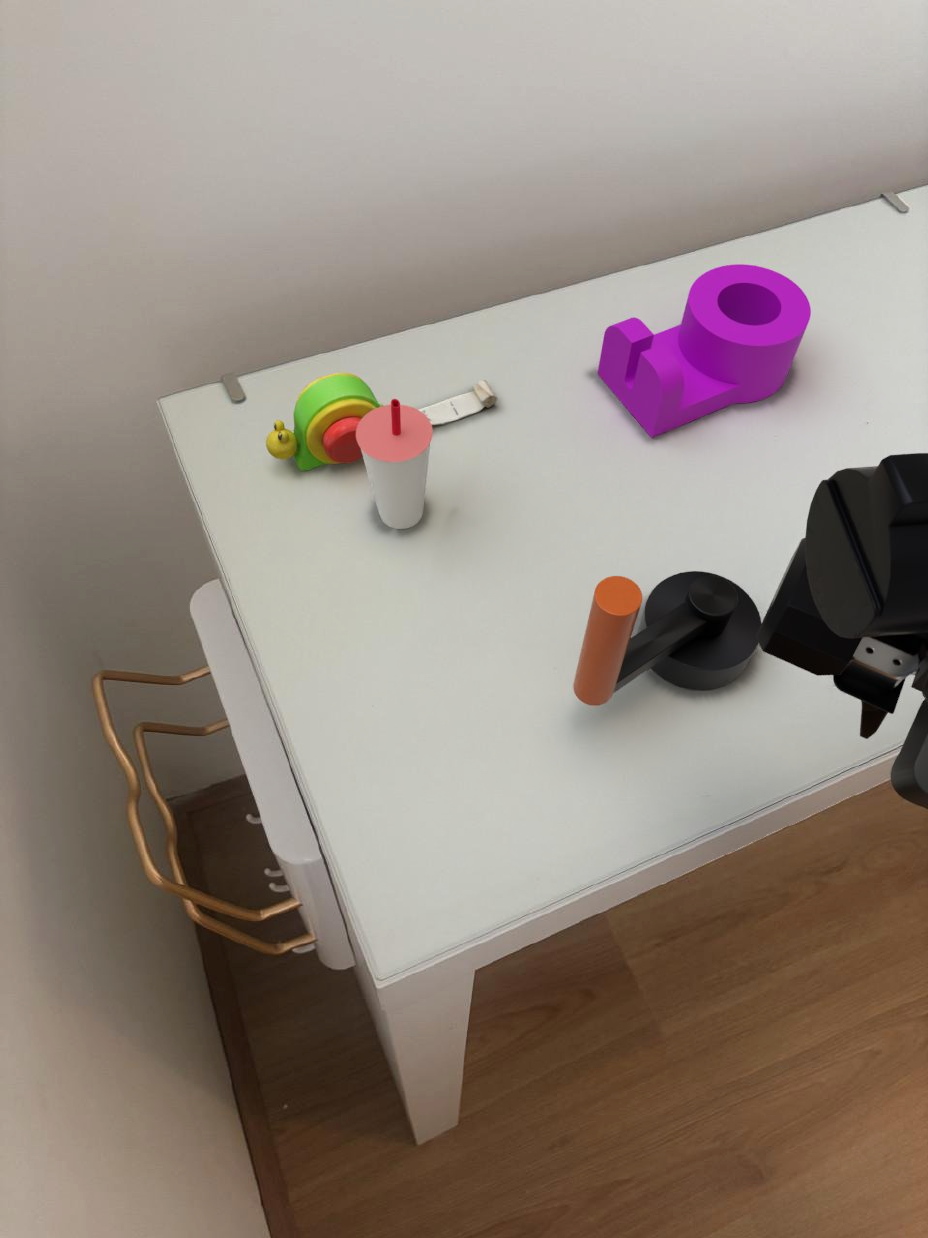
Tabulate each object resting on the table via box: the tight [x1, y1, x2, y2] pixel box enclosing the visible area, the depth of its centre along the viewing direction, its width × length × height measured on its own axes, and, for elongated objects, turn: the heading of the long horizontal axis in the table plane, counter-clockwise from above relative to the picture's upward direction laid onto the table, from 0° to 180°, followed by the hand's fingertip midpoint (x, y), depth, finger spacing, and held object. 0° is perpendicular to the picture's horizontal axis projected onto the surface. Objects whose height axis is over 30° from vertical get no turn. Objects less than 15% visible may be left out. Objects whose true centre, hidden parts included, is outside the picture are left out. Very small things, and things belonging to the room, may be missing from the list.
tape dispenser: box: [597, 263, 812, 439], centre depth 77 cm, size 16×10×6 cm, turn 118°
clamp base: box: [637, 570, 762, 691], centre depth 64 cm, size 8×8×3 cm
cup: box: [356, 398, 434, 530], centre depth 66 cm, size 5×5×12 cm
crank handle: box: [572, 575, 738, 707], centre depth 56 cm, size 13×3×12 cm, turn 126°
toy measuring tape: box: [265, 372, 497, 472], centre depth 73 cm, size 6×20×7 cm, turn 113°
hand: (905, 748), depth 47 cm, fingers open, 4 cm apart
